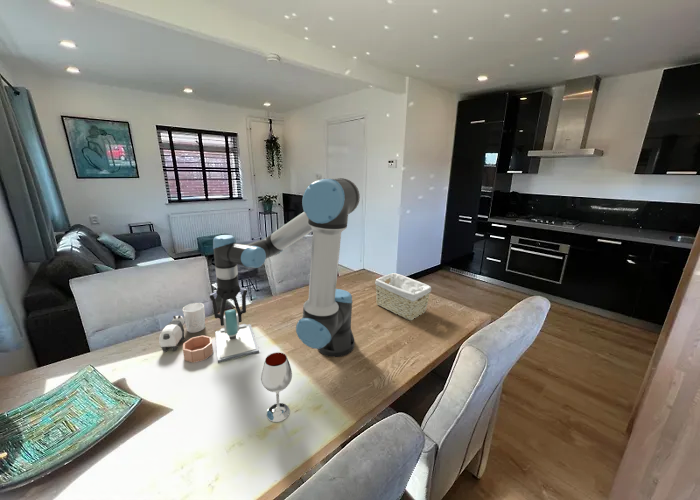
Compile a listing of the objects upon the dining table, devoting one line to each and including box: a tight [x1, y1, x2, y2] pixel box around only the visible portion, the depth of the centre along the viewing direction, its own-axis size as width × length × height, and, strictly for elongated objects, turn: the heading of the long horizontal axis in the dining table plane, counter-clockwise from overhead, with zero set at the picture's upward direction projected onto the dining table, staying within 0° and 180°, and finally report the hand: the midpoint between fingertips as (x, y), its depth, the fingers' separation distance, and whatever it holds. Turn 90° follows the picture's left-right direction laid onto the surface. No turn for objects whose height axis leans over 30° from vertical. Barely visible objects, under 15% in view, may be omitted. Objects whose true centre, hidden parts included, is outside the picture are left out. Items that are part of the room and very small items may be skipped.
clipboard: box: [214, 323, 260, 363], centre depth 110 cm, size 20×14×2 cm
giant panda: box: [158, 315, 186, 353], centre depth 108 cm, size 15×6×10 cm, turn 10°
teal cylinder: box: [224, 309, 238, 339], centre depth 110 cm, size 4×4×11 cm
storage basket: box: [374, 272, 432, 321], centre depth 140 cm, size 24×16×15 cm
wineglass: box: [260, 351, 293, 423], centre depth 77 cm, size 8×8×18 cm
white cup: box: [182, 302, 206, 334], centre depth 117 cm, size 8×8×10 cm
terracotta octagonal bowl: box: [182, 334, 214, 363], centre depth 102 cm, size 9×9×4 cm
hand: (231, 330), depth 112 cm, fingers closed on teal cylinder, 4 cm apart
